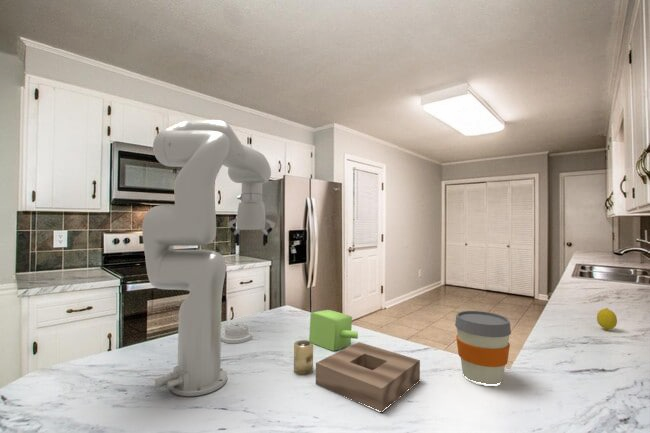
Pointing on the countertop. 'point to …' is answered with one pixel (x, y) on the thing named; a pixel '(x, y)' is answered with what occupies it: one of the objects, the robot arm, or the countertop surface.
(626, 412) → the countertop surface
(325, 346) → the gearbox
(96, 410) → the countertop surface
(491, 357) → the reusable coffee cup
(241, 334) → the mechanical component
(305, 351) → the bushing
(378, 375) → the block
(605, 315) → the lemon
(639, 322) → the countertop surface
